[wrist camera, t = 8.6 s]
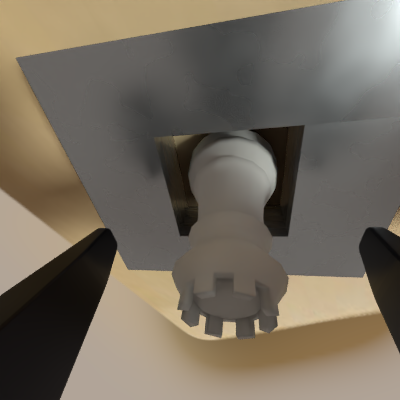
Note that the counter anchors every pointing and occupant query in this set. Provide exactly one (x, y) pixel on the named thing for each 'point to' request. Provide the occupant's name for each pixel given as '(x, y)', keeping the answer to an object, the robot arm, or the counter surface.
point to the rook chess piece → (231, 237)
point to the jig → (238, 126)
